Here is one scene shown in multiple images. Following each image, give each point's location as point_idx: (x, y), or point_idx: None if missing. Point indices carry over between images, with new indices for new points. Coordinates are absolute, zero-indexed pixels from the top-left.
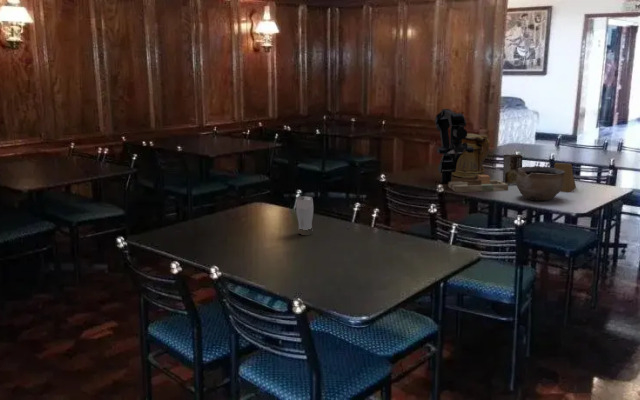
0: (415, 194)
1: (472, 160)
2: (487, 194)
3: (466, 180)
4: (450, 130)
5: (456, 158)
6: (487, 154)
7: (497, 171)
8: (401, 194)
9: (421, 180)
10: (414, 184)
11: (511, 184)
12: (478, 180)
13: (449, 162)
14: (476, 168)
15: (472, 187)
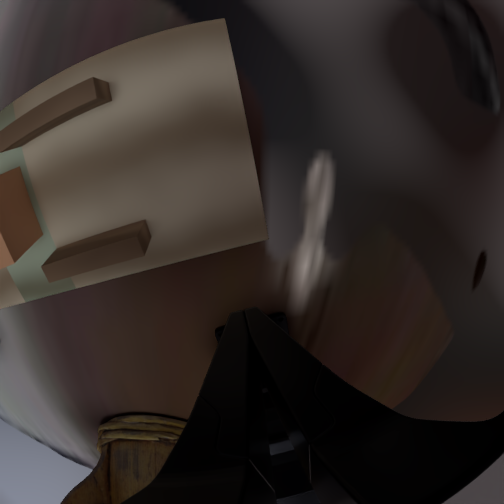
0: (449, 40)
1: (133, 484)
2: (27, 28)
3: (113, 233)
4: None
5: (245, 420)
6: (67, 495)
7: (88, 457)
8: (485, 63)
9: (362, 356)
10: (419, 274)
11: None
12: (11, 124)
13: (279, 438)
14: (117, 451)
15: (82, 65)
